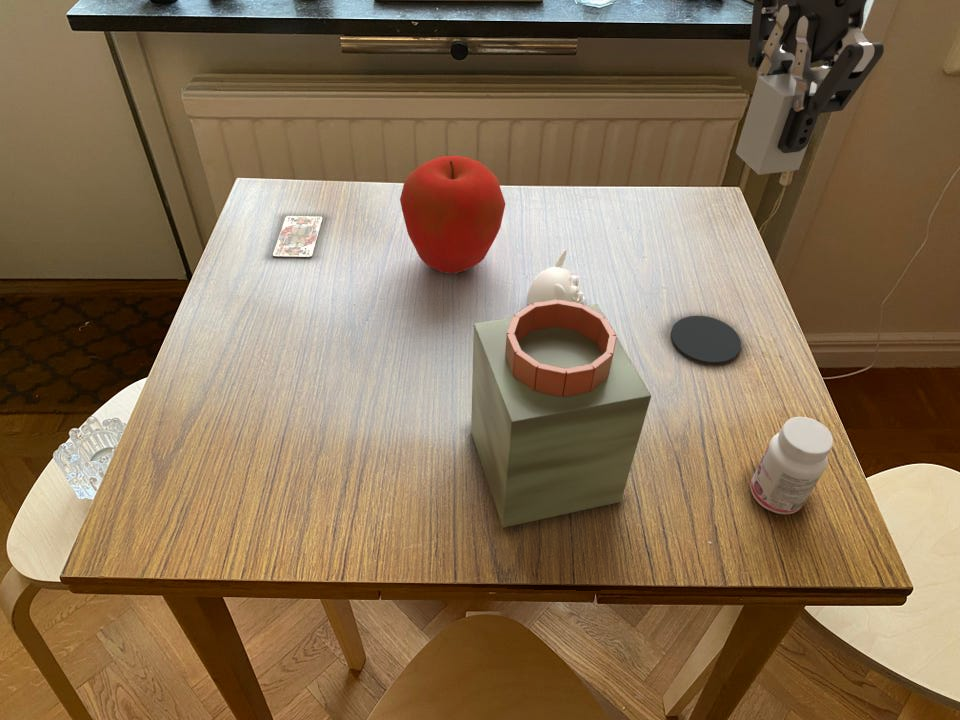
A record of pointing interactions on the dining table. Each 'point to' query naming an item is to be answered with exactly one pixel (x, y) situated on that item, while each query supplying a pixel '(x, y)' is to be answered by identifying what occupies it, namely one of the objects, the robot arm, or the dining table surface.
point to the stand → (553, 426)
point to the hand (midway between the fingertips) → (774, 136)
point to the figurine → (555, 285)
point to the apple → (452, 212)
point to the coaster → (705, 340)
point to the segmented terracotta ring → (552, 376)
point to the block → (769, 126)
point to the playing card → (298, 236)
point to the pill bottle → (792, 465)
